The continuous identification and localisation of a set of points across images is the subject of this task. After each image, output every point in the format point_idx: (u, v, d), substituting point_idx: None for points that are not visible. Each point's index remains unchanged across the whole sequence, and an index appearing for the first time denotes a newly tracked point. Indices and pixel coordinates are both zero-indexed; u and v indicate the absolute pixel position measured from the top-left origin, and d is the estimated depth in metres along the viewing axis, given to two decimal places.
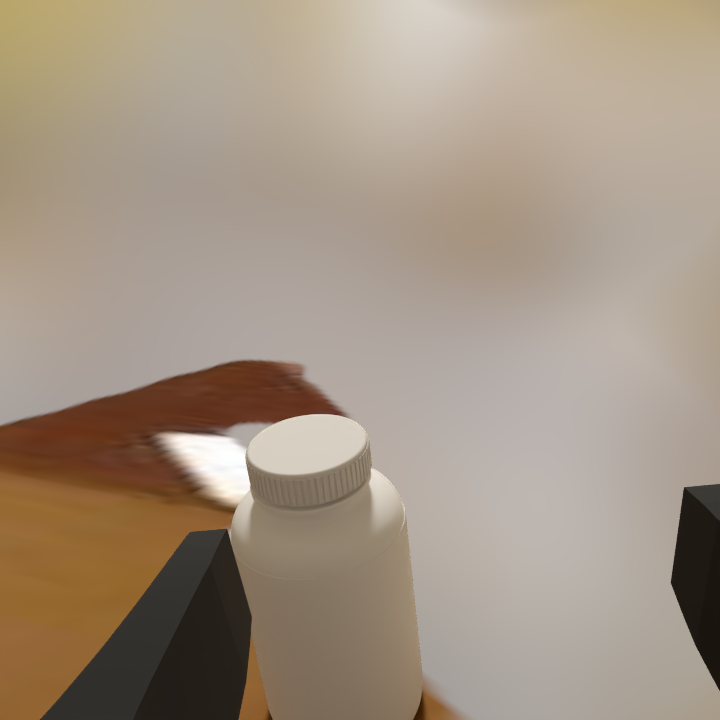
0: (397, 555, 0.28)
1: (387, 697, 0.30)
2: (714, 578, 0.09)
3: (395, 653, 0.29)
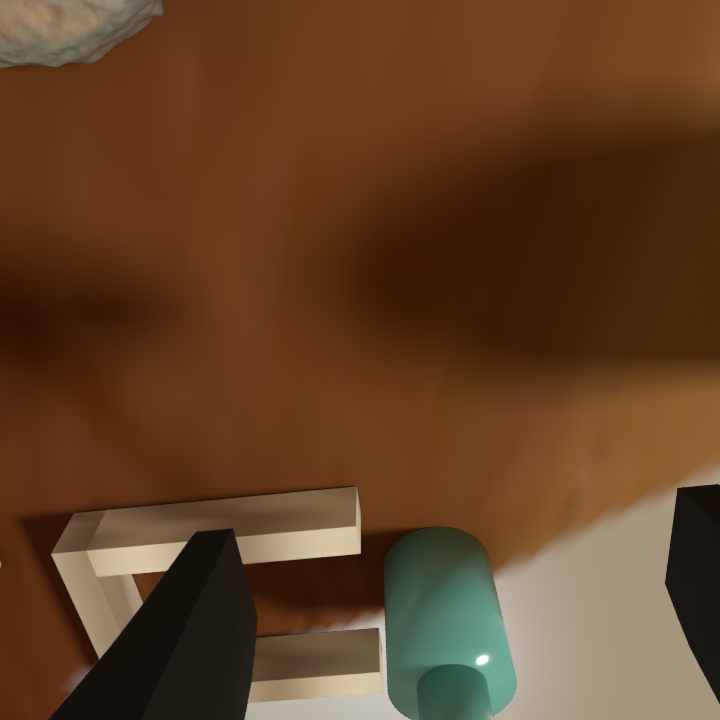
0: None
1: None
2: (707, 578, 0.09)
3: None
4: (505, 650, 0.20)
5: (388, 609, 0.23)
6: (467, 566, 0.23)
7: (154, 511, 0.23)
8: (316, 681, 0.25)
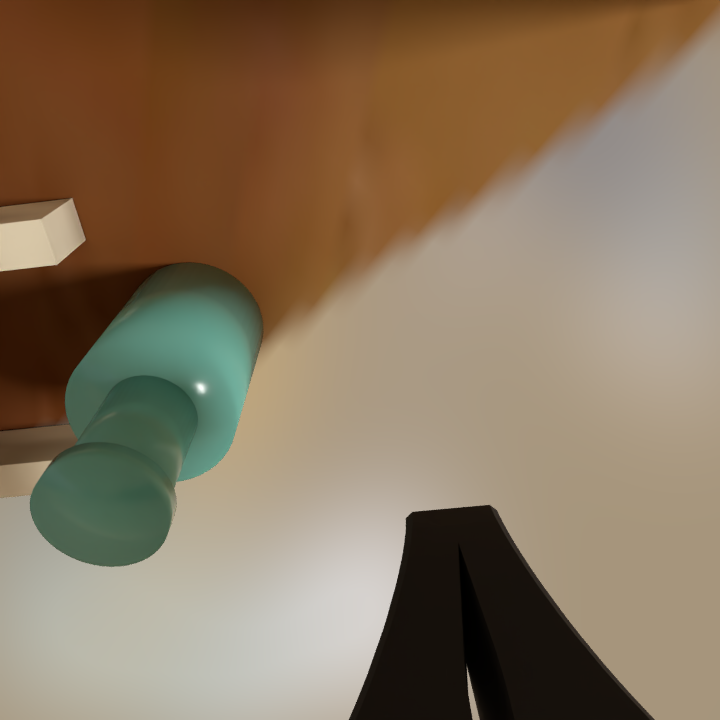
0: None
1: None
2: (463, 598, 0.10)
3: None
4: (218, 364, 0.16)
5: None
6: (204, 291, 0.18)
7: None
8: None
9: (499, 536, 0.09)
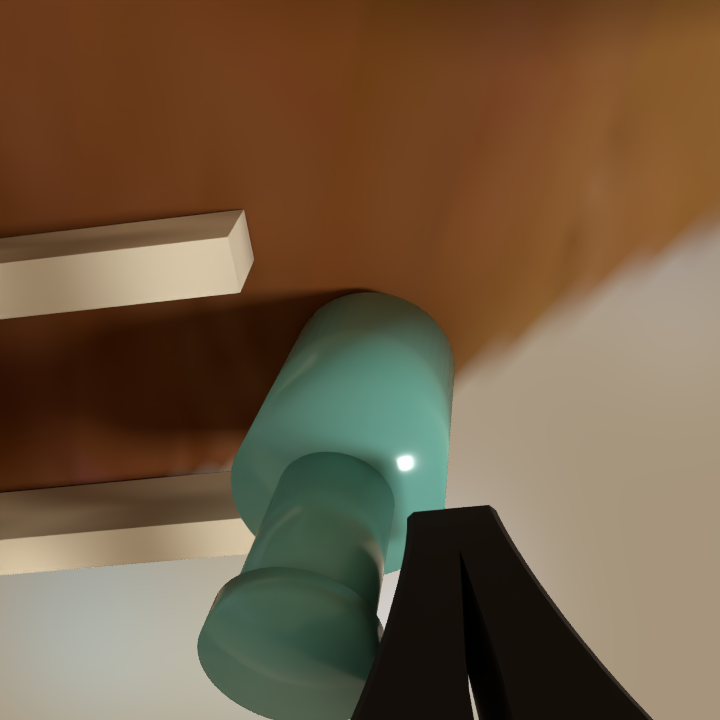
0: None
1: None
2: (462, 598, 0.10)
3: None
4: (428, 443, 0.12)
5: None
6: (399, 334, 0.14)
7: None
8: (195, 530, 0.17)
9: (498, 537, 0.09)
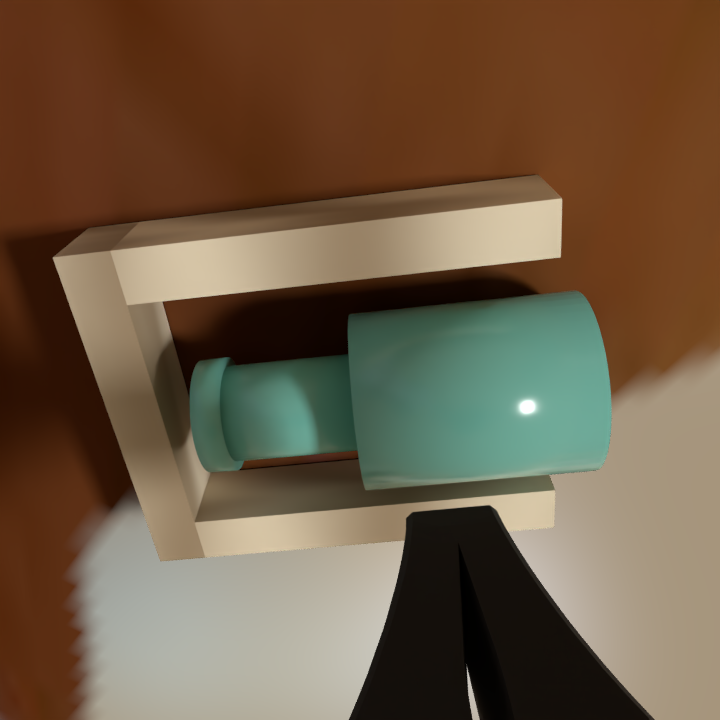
0: None
1: None
2: (463, 599, 0.10)
3: None
4: (374, 404, 0.13)
5: None
6: (509, 338, 0.13)
7: (216, 216, 0.15)
8: (454, 507, 0.16)
9: (499, 537, 0.09)
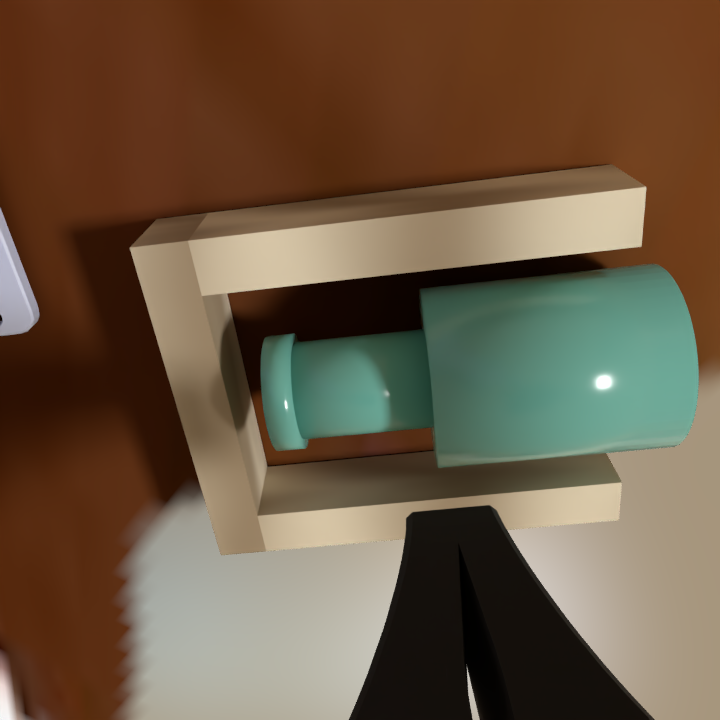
0: None
1: None
2: (463, 599, 0.10)
3: None
4: (453, 356, 0.13)
5: None
6: (586, 295, 0.13)
7: (286, 206, 0.15)
8: (519, 500, 0.16)
9: (499, 536, 0.09)
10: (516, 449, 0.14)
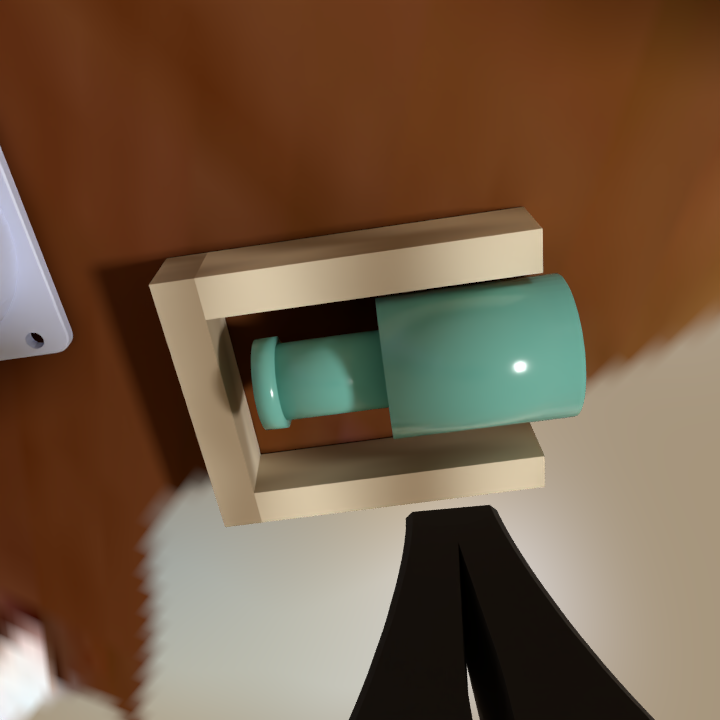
0: None
1: None
2: (463, 598, 0.10)
3: None
4: (397, 339, 0.17)
5: None
6: (499, 292, 0.17)
7: (269, 246, 0.19)
8: (464, 473, 0.20)
9: (499, 536, 0.09)
10: (452, 414, 0.17)
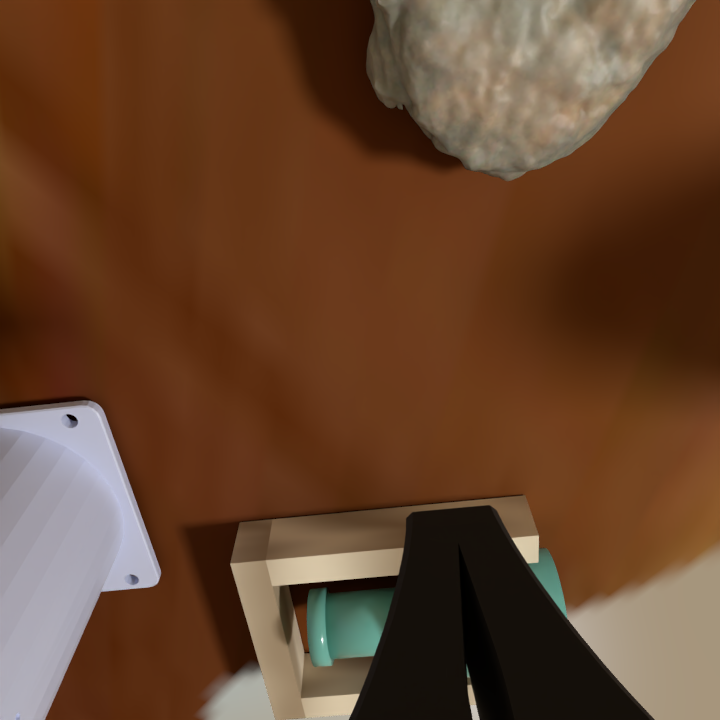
0: None
1: None
2: (463, 599, 0.10)
3: None
4: None
5: None
6: None
7: (322, 520, 0.23)
8: (472, 689, 0.25)
9: (499, 536, 0.09)
10: None
